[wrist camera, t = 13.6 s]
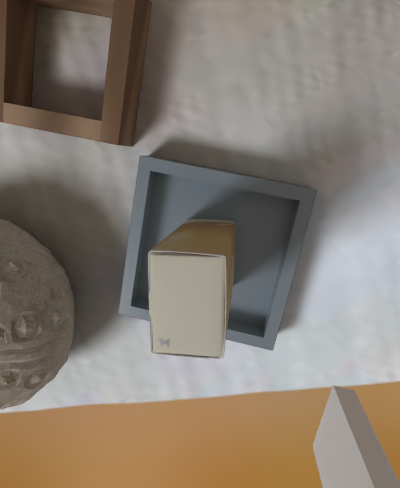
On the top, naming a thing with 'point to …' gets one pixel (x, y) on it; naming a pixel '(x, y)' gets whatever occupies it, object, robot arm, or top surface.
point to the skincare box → (192, 289)
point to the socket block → (117, 76)
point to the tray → (246, 238)
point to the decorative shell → (31, 315)
